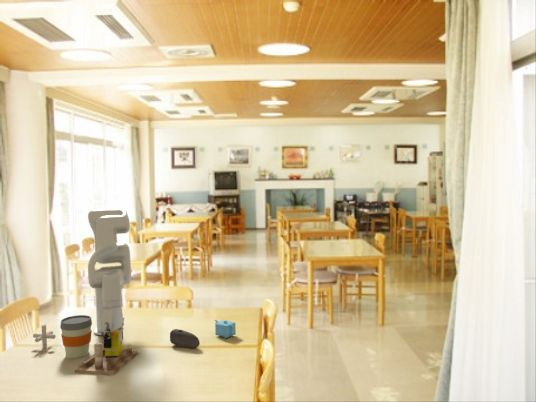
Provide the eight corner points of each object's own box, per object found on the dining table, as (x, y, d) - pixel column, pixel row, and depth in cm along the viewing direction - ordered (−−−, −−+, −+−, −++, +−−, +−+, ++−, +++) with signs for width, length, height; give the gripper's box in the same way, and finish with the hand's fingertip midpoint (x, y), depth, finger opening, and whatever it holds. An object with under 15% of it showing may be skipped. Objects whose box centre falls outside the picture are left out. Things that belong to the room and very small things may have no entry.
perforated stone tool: (203, 347, 214) (202, 332, 214) (195, 351, 210) (195, 335, 209) (176, 342, 222) (176, 327, 221) (168, 345, 217) (168, 330, 217)
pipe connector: (47, 352, 211) (46, 329, 211) (27, 350, 213) (26, 328, 213) (61, 344, 221) (60, 322, 220) (42, 342, 223) (41, 321, 222)
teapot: (210, 335, 230) (209, 319, 230) (219, 331, 235) (218, 316, 235) (229, 340, 223) (228, 324, 222) (238, 336, 228) (237, 320, 227)
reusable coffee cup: (99, 350, 213) (98, 316, 212) (79, 361, 201) (77, 325, 200) (75, 347, 217) (74, 313, 216) (54, 357, 205) (53, 322, 204)
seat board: (103, 351, 211) (103, 328, 210) (138, 353, 208) (137, 330, 207) (74, 372, 189) (73, 346, 189) (113, 375, 186) (112, 349, 186)
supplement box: (108, 352, 206) (107, 327, 206) (123, 352, 207) (122, 326, 206) (104, 358, 201) (103, 331, 200) (119, 357, 201) (118, 331, 200)
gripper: (114, 297, 211) (115, 336, 212) (92, 308, 194) (94, 350, 195) (130, 298, 210) (131, 337, 211) (110, 309, 193) (111, 351, 194)
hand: (113, 343), depth 203 cm, fingers open, 9 cm apart
